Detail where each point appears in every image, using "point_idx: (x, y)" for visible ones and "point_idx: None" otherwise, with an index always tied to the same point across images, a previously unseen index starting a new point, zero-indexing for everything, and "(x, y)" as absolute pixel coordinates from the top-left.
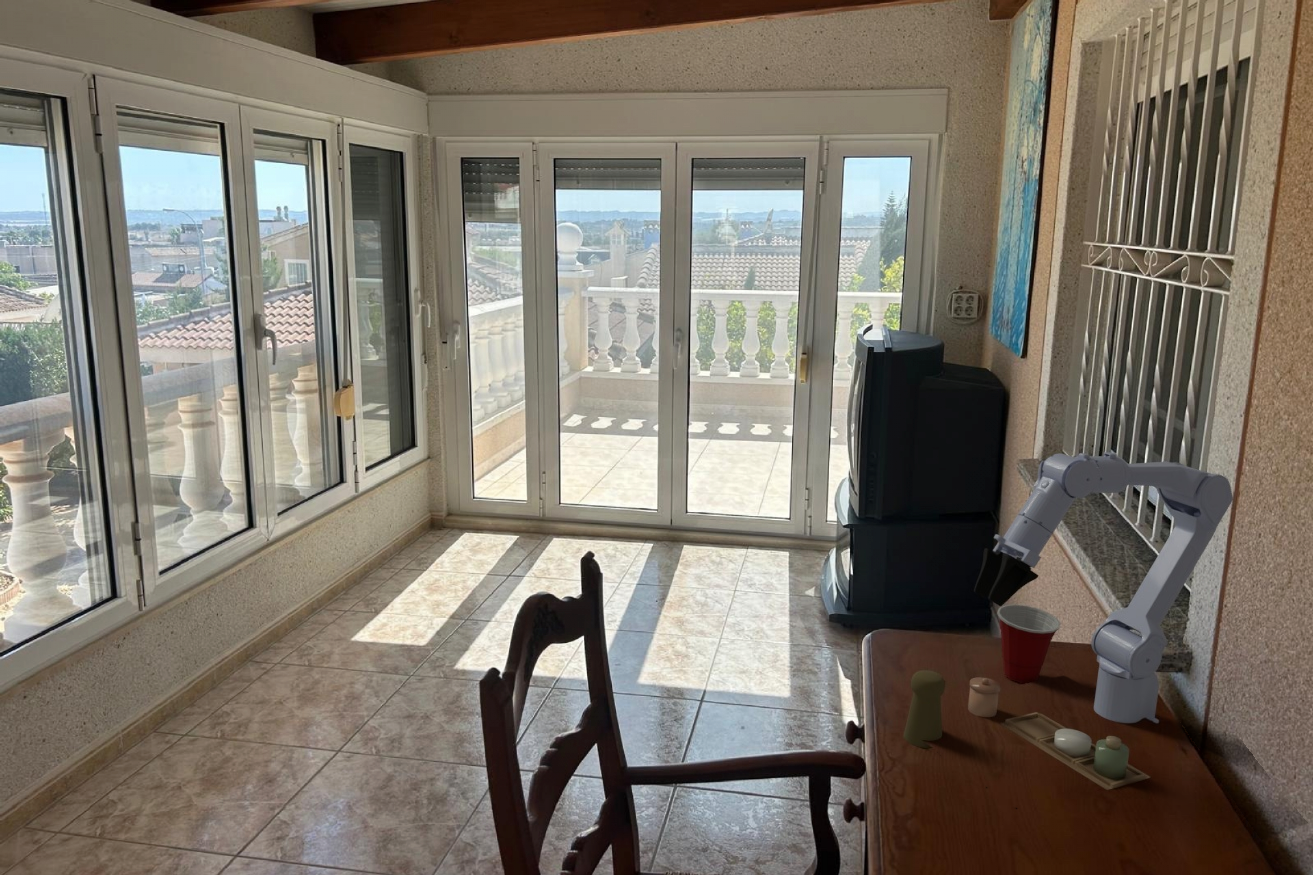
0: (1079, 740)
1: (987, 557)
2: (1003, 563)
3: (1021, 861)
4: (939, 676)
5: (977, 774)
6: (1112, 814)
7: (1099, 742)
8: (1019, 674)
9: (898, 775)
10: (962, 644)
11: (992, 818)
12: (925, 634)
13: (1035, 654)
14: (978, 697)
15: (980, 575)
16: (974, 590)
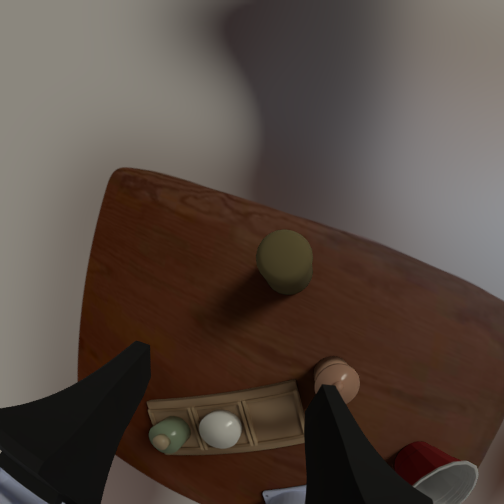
0: (210, 433)
1: (361, 500)
2: (41, 422)
3: (91, 262)
4: (275, 271)
5: (202, 297)
6: None
7: (173, 434)
8: (402, 454)
9: (214, 209)
10: (491, 413)
11: (135, 270)
12: None
13: None
14: (323, 367)
15: (342, 430)
16: (329, 387)
